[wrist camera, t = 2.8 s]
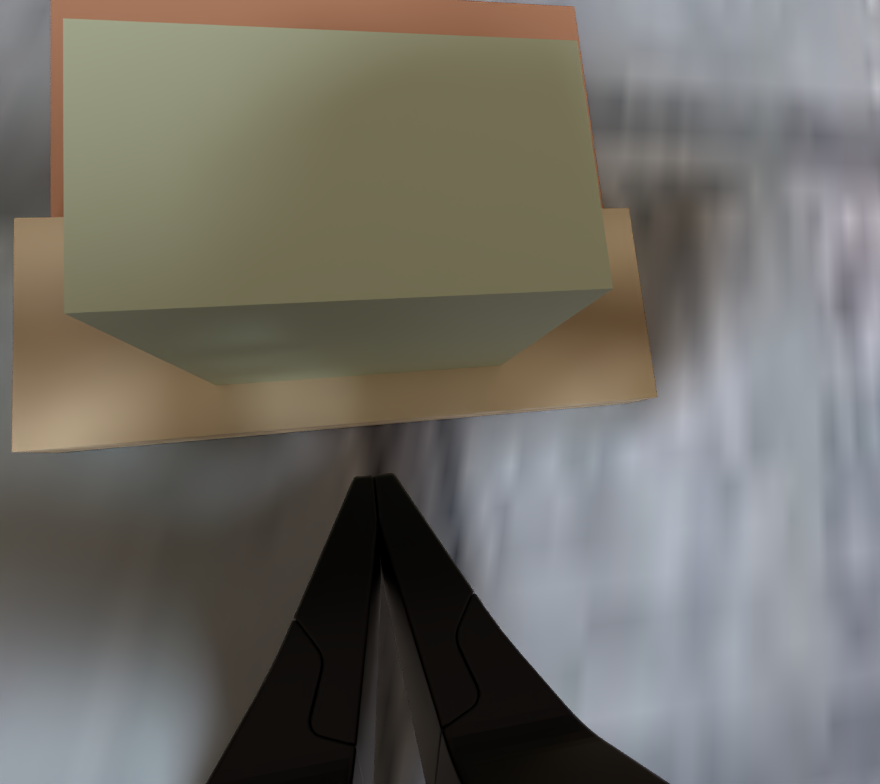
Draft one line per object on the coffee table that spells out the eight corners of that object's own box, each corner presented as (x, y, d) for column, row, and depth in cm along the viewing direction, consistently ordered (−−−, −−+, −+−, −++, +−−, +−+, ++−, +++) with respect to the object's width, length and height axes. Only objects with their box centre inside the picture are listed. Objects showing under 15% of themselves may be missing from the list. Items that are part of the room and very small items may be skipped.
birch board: (626, 403, 19) (657, 397, 17) (56, 452, 16) (12, 452, 14) (602, 232, 20) (628, 208, 18) (56, 246, 16) (14, 217, 14)
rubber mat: (601, 223, 20) (604, 220, 19) (56, 235, 16) (50, 231, 16) (571, 13, 21) (574, 6, 20) (55, -15, 18) (50, -23, 17)
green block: (500, 365, 16) (613, 288, 9) (215, 385, 15) (64, 313, 7) (484, 223, 17) (576, 40, 9) (209, 229, 15) (63, 18, 8)
